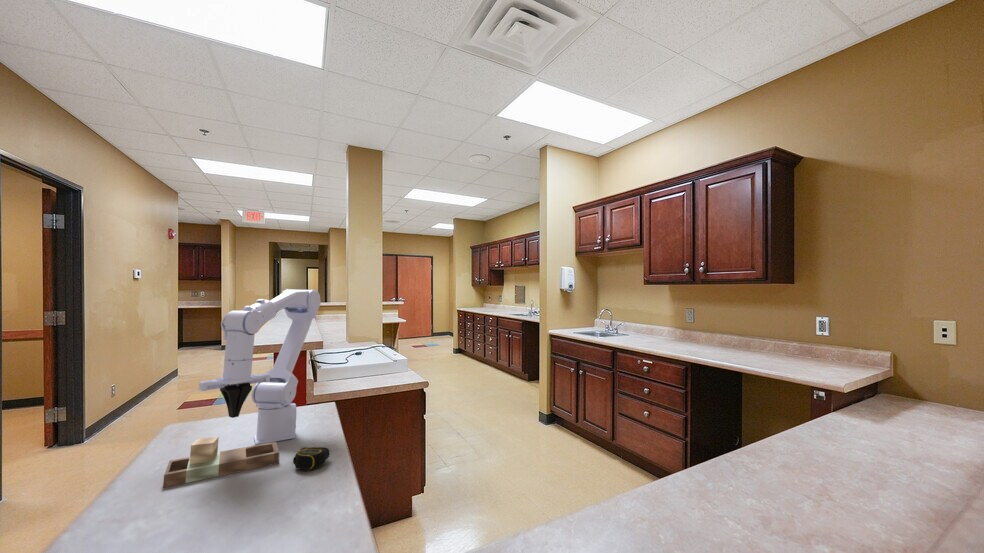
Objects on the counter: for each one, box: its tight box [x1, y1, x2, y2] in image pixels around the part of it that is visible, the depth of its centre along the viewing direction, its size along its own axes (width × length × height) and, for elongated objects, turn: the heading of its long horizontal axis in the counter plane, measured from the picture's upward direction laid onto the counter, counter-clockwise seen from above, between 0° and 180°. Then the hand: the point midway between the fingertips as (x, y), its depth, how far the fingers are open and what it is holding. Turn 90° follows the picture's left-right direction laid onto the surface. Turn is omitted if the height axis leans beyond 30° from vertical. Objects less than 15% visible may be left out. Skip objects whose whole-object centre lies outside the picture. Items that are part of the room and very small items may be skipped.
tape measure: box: [292, 446, 330, 471], centre depth 85 cm, size 7×7×4 cm
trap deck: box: [162, 441, 280, 489], centre depth 83 cm, size 20×8×2 cm, turn 126°
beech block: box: [189, 436, 220, 464], centre depth 82 cm, size 4×4×4 cm
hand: (233, 416), depth 87 cm, fingers closed
